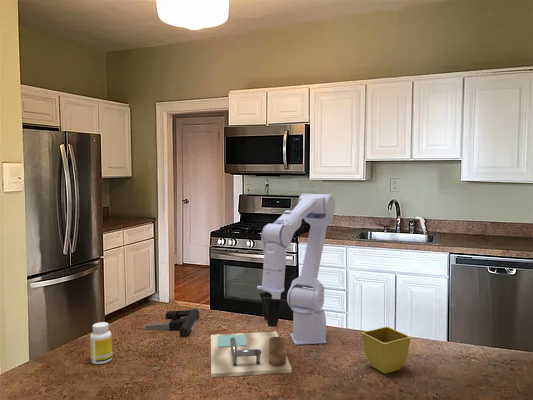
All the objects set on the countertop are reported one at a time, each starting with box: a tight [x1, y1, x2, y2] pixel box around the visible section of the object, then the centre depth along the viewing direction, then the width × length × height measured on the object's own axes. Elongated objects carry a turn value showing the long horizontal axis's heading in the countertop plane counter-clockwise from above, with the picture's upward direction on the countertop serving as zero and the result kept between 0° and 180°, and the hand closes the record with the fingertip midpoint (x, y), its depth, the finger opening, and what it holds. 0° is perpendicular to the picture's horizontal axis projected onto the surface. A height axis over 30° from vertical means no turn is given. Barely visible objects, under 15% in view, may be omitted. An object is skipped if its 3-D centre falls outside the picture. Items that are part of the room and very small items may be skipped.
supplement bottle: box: [89, 321, 113, 365], centre depth 121 cm, size 5×5×10 cm
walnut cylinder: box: [269, 336, 287, 366], centre depth 117 cm, size 4×4×6 cm
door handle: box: [144, 308, 201, 337], centre depth 148 cm, size 3×20×16 cm
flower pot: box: [361, 326, 412, 375], centre depth 115 cm, size 9×9×9 cm
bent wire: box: [230, 337, 261, 366], centre depth 120 cm, size 8×11×4 cm
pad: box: [218, 335, 247, 348], centre depth 131 cm, size 8×8×1 cm
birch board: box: [210, 331, 293, 378], centre depth 125 cm, size 20×26×1 cm
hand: (270, 323), depth 117 cm, fingers open, 7 cm apart
